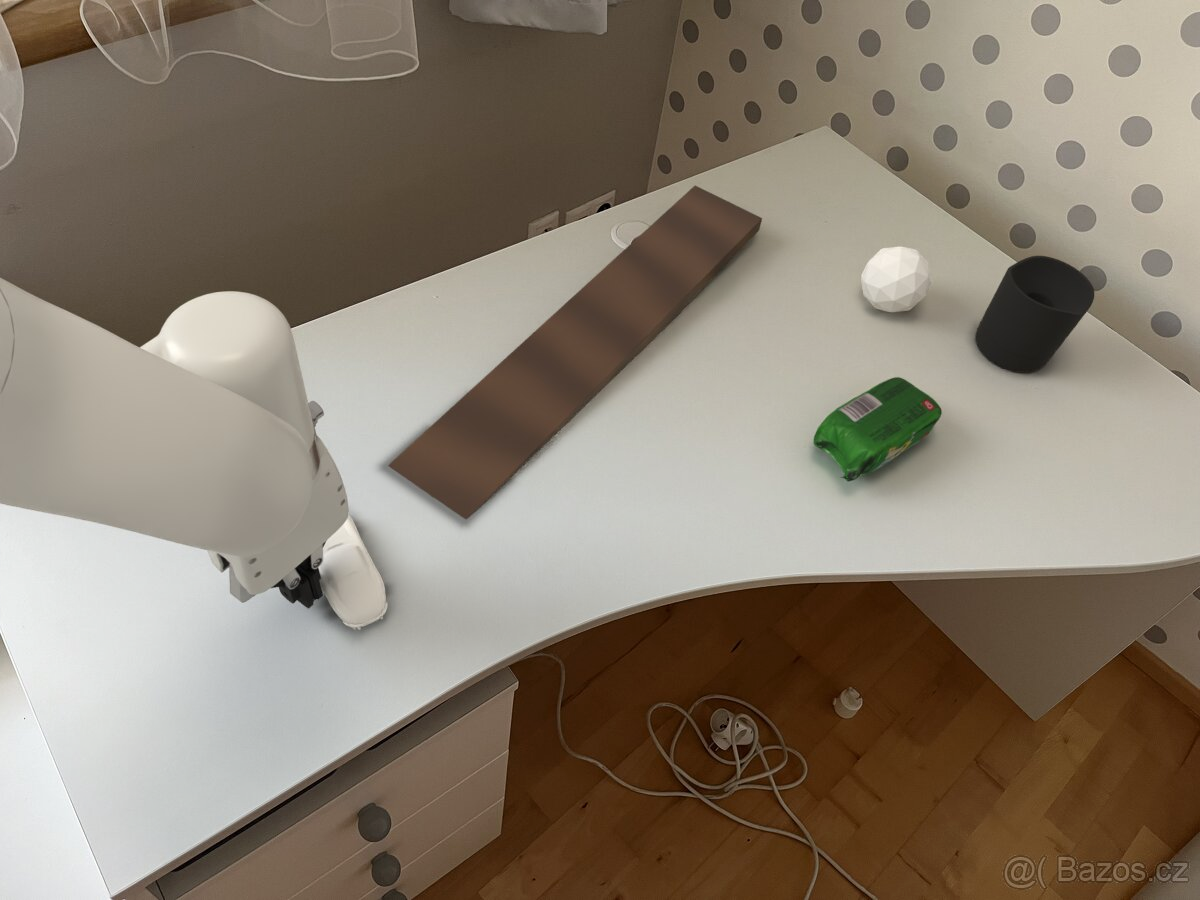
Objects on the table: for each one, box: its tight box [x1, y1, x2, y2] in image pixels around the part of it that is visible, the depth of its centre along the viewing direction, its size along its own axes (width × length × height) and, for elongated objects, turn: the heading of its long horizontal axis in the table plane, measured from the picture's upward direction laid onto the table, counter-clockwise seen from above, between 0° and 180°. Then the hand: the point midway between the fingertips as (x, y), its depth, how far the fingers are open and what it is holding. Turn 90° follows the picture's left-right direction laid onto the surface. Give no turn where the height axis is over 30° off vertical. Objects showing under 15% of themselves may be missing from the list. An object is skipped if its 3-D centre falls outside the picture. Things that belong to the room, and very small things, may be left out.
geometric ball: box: [860, 245, 932, 313], centre depth 106 cm, size 8×8×8 cm
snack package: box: [813, 376, 943, 482], centre depth 92 cm, size 7×16×5 cm, turn 127°
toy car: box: [318, 513, 389, 631], centre depth 77 cm, size 5×12×4 cm, turn 31°
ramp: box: [387, 185, 763, 520], centre depth 99 cm, size 56×10×5 cm, turn 144°
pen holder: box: [975, 255, 1095, 373], centre depth 102 cm, size 9×9×10 cm
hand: (303, 592), depth 75 cm, fingers closed
